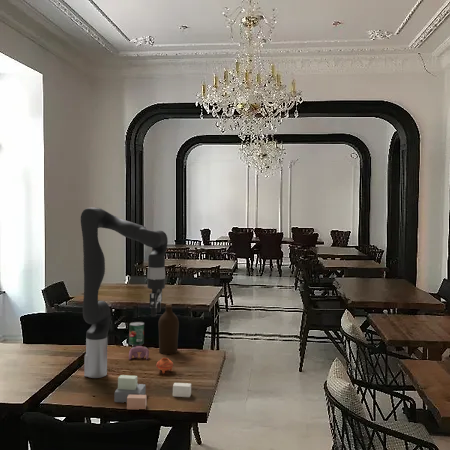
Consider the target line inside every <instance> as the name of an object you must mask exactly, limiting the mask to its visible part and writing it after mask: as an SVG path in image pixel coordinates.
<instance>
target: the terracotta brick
mask: <svg viewBox="0 0 450 450" xmlns="http://www.w3.org/2000/svg"><path fill="white" fill-rule="evenodd" d="M147 397H148V395H147V394H145V395H128V397H127V403H126V410H139V409H145V410H146V409H147V403H148V402H147V401H148V400H147V399H148V398H147Z"/></svg>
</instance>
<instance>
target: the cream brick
mask: <svg viewBox="0 0 450 450" xmlns="http://www.w3.org/2000/svg"><path fill="white" fill-rule="evenodd" d="M191 395H192V383H190V382H189V383H187V382H174V383H173V385H172V397H176V398H177V397H178V398H179V397H180V398H181V397H182V398H191Z"/></svg>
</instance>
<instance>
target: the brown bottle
mask: <svg viewBox="0 0 450 450" xmlns="http://www.w3.org/2000/svg"><path fill="white" fill-rule="evenodd" d="M157 323H158V325H157V326H158V351H159V353H160V354H163V355H172V354H176V353H177V352H178V343H179V342H178V340H179V329H180V321H179V318H178V316H177V315H176V314H175V312H173V303H166V304H165V311H164V312H163V314H161V315H160V316H159V319H158V322H157Z"/></svg>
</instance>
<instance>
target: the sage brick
mask: <svg viewBox="0 0 450 450" xmlns="http://www.w3.org/2000/svg"><path fill="white" fill-rule="evenodd" d="M137 384H138V375H126V374H120V375H119V376H118V377H117V388H118V389H126V390H135V389H136V388H137Z"/></svg>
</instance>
